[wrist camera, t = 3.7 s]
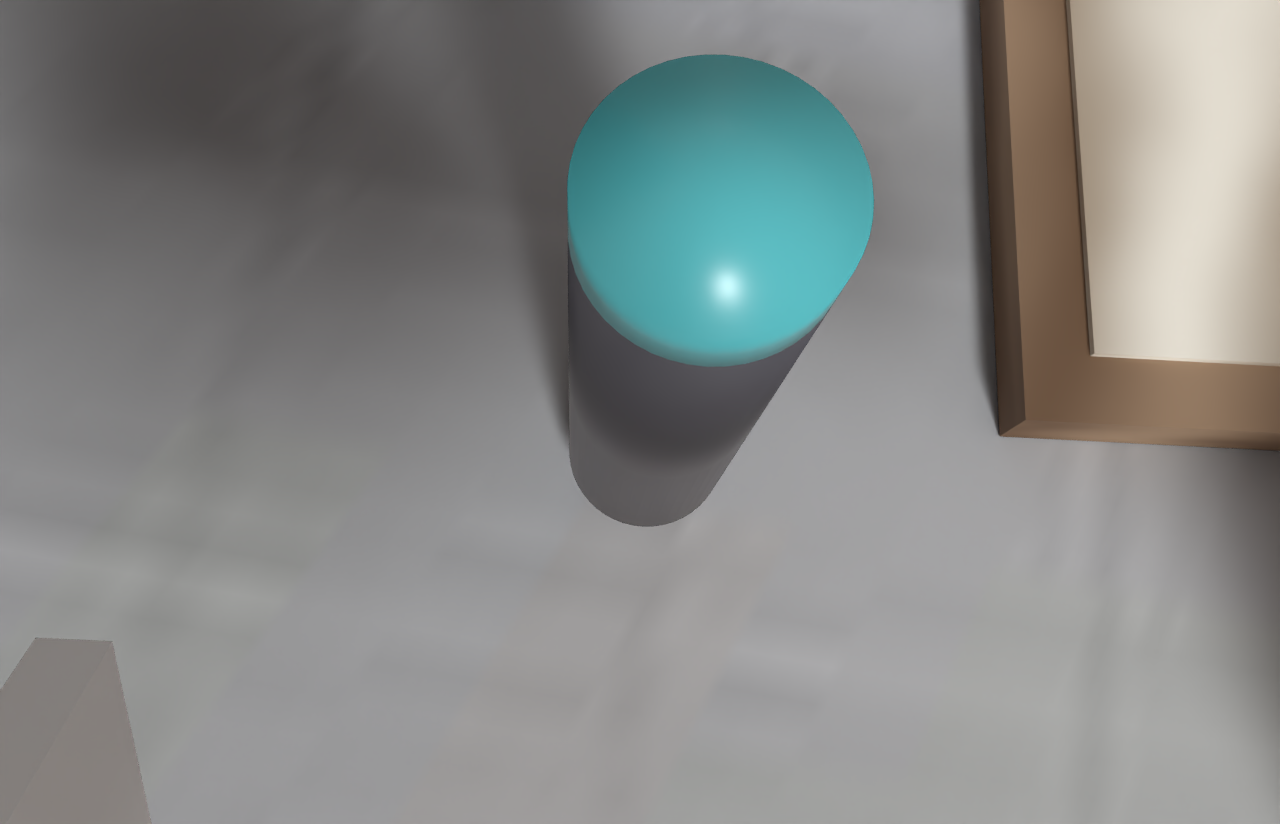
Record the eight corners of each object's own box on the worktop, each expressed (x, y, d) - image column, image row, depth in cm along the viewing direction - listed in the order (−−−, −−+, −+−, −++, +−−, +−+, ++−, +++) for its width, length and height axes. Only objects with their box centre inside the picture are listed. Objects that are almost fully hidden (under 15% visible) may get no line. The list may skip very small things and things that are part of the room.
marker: (565, 531, 24) (558, 328, 11) (573, 388, 25) (575, 44, 12) (714, 538, 24) (876, 345, 11) (717, 395, 25) (871, 64, 12)
